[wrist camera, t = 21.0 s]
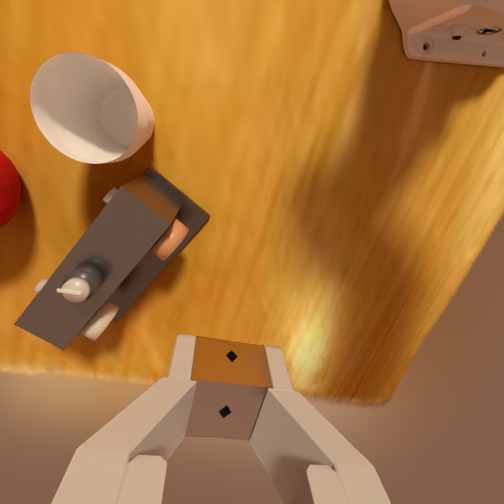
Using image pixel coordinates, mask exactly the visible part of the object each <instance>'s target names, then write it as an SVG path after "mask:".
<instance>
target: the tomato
mask: <svg viewBox="0 0 504 504" xmlns="http://www.w3.org/2000/svg"><path fill="white" fill-rule="evenodd" d="M20 197H21V183H20V178H19V175H18V172H17V170H16V168H15V166H14V165H13V163H12V162H11V160H10V159H9V158H8V157H7V156H6V155H5V154H4V153H3V152H2V151H0V227H2V226H3V225H4V224H6V223H7V222H8V221H9V220H10V219H11V218H12V217H13V216H14V215H15V213H16V212H17V210H18V208H19V205H20Z"/></svg>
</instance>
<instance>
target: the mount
mask: <svg viewBox="0 0 504 504" xmlns="http://www.w3.org/2000/svg"><path fill="white" fill-rule="evenodd" d="M209 217H210V215H209V214H208V213H207V212H205V211H204V210H203V209H202V208H201V207H199V206H198V205H197V204H196V203H195V202H193V201H192V200H191V199H190V198H189V197H187V196H186V195H185V194H184V193H183V192H181V191H180V190H179V189H178V188H177V187H175V186H174V185H173V184H172V183H171V182H169V181H168V180H167V179H166V178H165V177H163V176H162V175H161V174H160V173H159V172H157V171H156V170H155V169H154V168H153V167H151V168H150V169H149V170H148V171H147V173H146V174H144V175H142V176H140V177H138V178H136V179H134V180H132V181H130V182H128V183H126V184H124V185H122V186H120V188H119V189H118V190H117V192H116V193H115V194H114V195H113V197H112V198H111V199H110V201H109V202H108V203H107V204H106V206H105V207H104V208H103V210H102V211H101V212H100V214H99V215H98V216H97V217H96V219H95V220H94V221H93V223H92V224H91V225H90V226H89V228H88V229H87V230H86V232H85V233H84V234H83V236H82V237H81V238H80V239H79V241H78V242H77V243H76V245H75V246H74V247H73V248H72V250H71V251H70V252H69V254H68V255H67V256H66V258H65V259H64V260H63V261H62V263H61V264H60V265H59V267H58V268H57V269H56V271H55V272H54V273H53V274H52V276H51V277H50V278H49V280H48V281H47V282H46V283H45V285H44V286H43V287H42V289H41V290H40V291H39V293H38V294H37V295H36V296H35V298H34V299H33V300H32V302H31V303H30V304H29V305H28V307H27V308H26V309H25V311H24V312H23V313H22V315H21V316H20V317H19V318H18V320H17V321H16V322H15V324H14V325H16V326H18V327H20V328H22V329H24V330H26V331H28V332H30V333H32V334H34V335H35V336H37V337H39V338H41V339H43V340H45V341H47V342H49V343H51V344H53V345H55V346H57V347H58V348H60V349H62V350H64V349H65V348H66V347H67V345H68V344H69V343H70V342H71V341H72V340H73V338H74V337H75V336H76V335H77V334H78V333H79V331H80V330H81V329H82V328H83V327H84V326H85V324H86V323H87V322H88V321H89V320H90V319H91V317H92V316H93V315H94V314H95V313H96V311H97V310H98V309H99V308H100V307H101V306H102V304H103V303H104V302H105V301H106V300H107V301H109V302H110V303H112V304H114V305H115V306H117V307H119V310H118V311H117V313H116V315H115V316H114V318H113V319H112V320H113V321H115V322H117V321H118V320H119V319H120V318H121V316H122V315H123V314H124V313H125V312H126V311H127V310H128V309H129V307H130V306H131V305H132V304H133V303H134V302H135V301H136V300H137V298H138V297H139V296H140V295H141V294H142V293H143V292H144V290H145V289H146V288H147V287H148V286H149V285H150V284H151V283H152V281H153V280H154V279H155V278H156V277H157V276H158V275H159V274H160V272H161V271H162V270H163V269H164V268H165V267H166V266H167V265H168V263H169V262H170V261H171V260H172V259H173V258H174V257H175V256H176V254H177V253H178V252H179V251H180V250H181V249H182V248H183V246H184V245H185V244H186V243H187V242H188V241H189V240H190V239H191V237H192V236H193V235H194V234H195V233H196V232H197V231H198V230H199V228H200V227H201V226H202V225H203V224H204V223H205V222H206V221H207V219H208V218H209ZM175 218H176V219H177V220H178V221H180V222H181V223H182V224H184V225H185V226H186V227H187V228H189V231H188V233H187V234H186V236H185V237H184V239H183V240H182V242H181V243H180V244H179V245H178V247H177V248H176V249H175V250H174V251H173V253H172V254H171V255H170V256H169V257H168V258H167V259H166V260H164V261H163V260H161V259H160V258H159V257H157V256H156V255H154V254H153V253H152V252H150V251H149V250H150V248H151V247H152V246H153V245H154V244H155V242H156V241H157V240H158V239H159V238H160V237H161V235H162V234H163V233H164V232H165V231H166V230H167V228H168V227H169V226H170V225H171V223H172V221H173V220H174V219H175ZM83 263H90V264H93V265H96V266H97V267H99V268H100V269H101V270H102V272H103V274H104V283H103V284H102V285H101V287H100V288H99V289H98V291H97V292H96V293H95V294H94V296H93V297H91V298H90V299H88V300H84V301H82V302H77V303H76V302H71V301H68V300H67V299H66V298H64V296H63V295H62V293H60V292H57V289H58V288H59V289H61V288H62V282H63V279H64V278H65V277H66V276H67V275H68V274H69V273H70V272H71V271H72V270H74V269H75V268H76V267H77V266H78V265H80V264H83Z"/></svg>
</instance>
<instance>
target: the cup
mask: <svg viewBox="0 0 504 504" xmlns="http://www.w3.org/2000/svg"><path fill="white" fill-rule="evenodd" d="M30 102H31V108H32V112H33V116H34V118H35V121H36V123H37V125H38V127H39V129H40V130H41V132H42V133H43V135H44V136H45V138H46V139H47V140H48V141H49V142H50V143H51V144H52V145H53V146H54V147H55V148H56V149H57V150H59V151H60V152H62V153H63V154H65V155H66V156H68V157H70V158H72V159H74V160H77V161H80V162H84V163H91V164H100V163H115V162H119V161H122V160H124V159H127V158H128V157H130V156H132V155H133V154H134V153H135V152H136V151H137V150H139V149H140V148H141V147H142V146H143V145H144V144H145V143H146V142H147V141H148V140H149V138H150V137H151V135H152V133H153V130H154V115H153V112H152V109H151V107H150V106H149V104H148V102H147V101H146V99H145V98H144V96H143V95H142V93H141V92H140V90H139V89H138V88H137V86H136V85H135V83H134V82H133V81H132V80H131V79H130V78H129V77H128V76H127V75H126V74H125V73H124V72H123V71H121V70H120V69H119V68H117V67H115V66H114V65H112V64H110V63H108V62H105V61H103V60H100V59H98V58H96V57H94V56H91V55H88V54H84V53H79V52H66V53H61V54H58V55H55V56H53V57H51V58H49V59H48V60H46V61H45V62H44V63H43V64H42V65H41V66H40V67H39V69H38V70H37V72H36V74H35V76H34V78H33V81H32V84H31V90H30Z"/></svg>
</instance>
